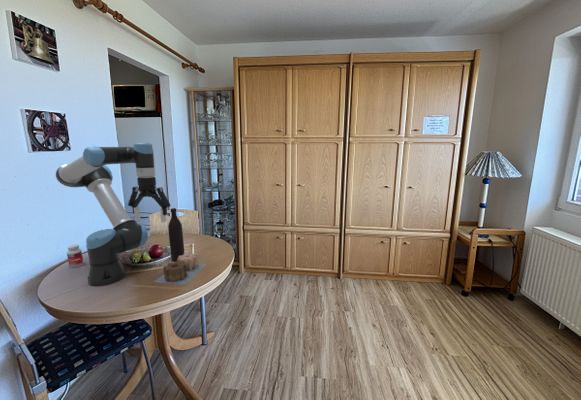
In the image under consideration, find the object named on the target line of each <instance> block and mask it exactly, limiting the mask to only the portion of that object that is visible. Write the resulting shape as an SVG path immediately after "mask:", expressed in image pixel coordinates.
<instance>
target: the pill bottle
mask: <svg viewBox="0 0 581 400" xmlns="http://www.w3.org/2000/svg"><path fill="white" fill-rule="evenodd" d="M82 251H83V250H82V249H81V248H80V245H79V244H72V245H69V246H67V252H66V255H67V256H66V257H67V261H68V266H69V267H70V268H77V267H81V266H83V265H84V258H83V252H82Z"/></svg>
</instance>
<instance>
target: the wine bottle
mask: <svg viewBox="0 0 581 400" xmlns="http://www.w3.org/2000/svg"><path fill="white" fill-rule="evenodd" d="M170 213H171V214H170V215H171V217H170V220H169V223H168V224H167V228H168V231H167V232H168V238H169V240H168V241H169V247H170V249H169V250H170V258H171V259H170V261H171V262H172V263H174V262H176V261H177V258H178V256H181V255H184V254H185V244H184V243H185V242H184V235H183V233H184V232H183V225H182V224H183V223H181V221H180V219H179V218H178V215H177V208H175V207H173V208H171V209H170Z"/></svg>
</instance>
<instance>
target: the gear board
mask: <svg viewBox="0 0 581 400" xmlns="http://www.w3.org/2000/svg"><path fill="white" fill-rule="evenodd" d="M197 263H198V262H197ZM206 266H207V263H198V265H197V268H194V269H192V270H191V271H190V270H187V277H184V279H183V280H178V281H176V282H173V281H168V282H166V279H165V277H164V273H163V274H162V275H161V276H159V277H158V278H156V279H155V280H154V281H153V283H156V284H157V283H159V284H170V285H172V284H173V285H186V284H188V282H189V281H191V280H192V279H193V278H194V277H195V276H196V275H197V274H199V272H200V271H201V270H202V269H203V268H204V267H206Z"/></svg>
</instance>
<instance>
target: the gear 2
mask: <svg viewBox="0 0 581 400" xmlns="http://www.w3.org/2000/svg"><path fill="white" fill-rule="evenodd" d="M184 253H185V252H184ZM177 261H178V262H184V263H185V264H186V269H187V270H190V271H191V270H192V269H194V268H197V265H198V254H196V253H195V254H194V253H193V252H190V253H185V254H184V255H181V256H178V258H177Z"/></svg>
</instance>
